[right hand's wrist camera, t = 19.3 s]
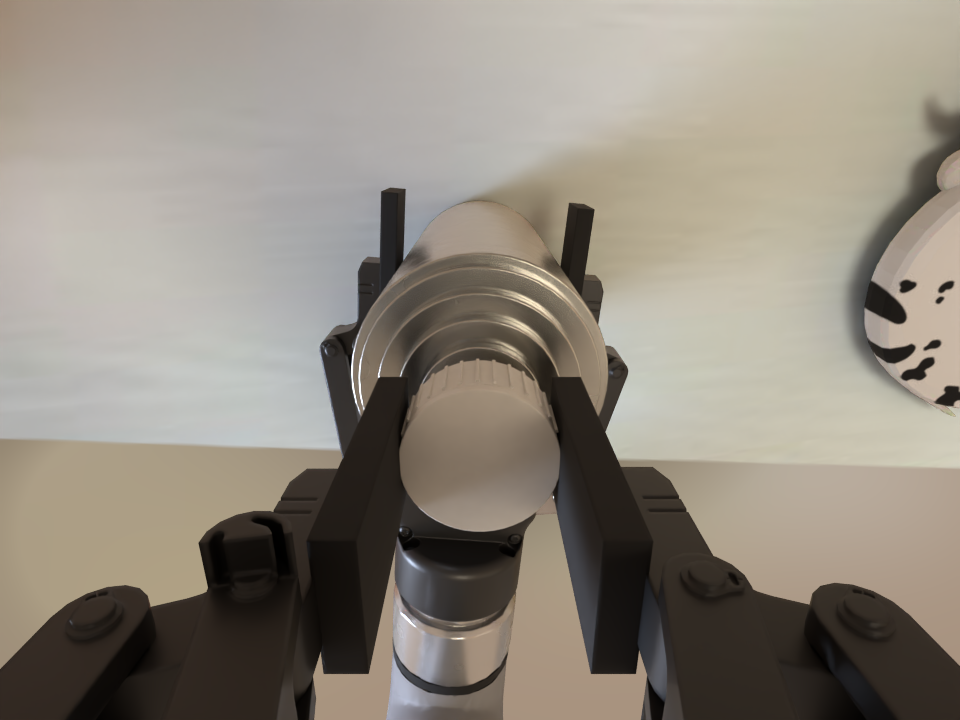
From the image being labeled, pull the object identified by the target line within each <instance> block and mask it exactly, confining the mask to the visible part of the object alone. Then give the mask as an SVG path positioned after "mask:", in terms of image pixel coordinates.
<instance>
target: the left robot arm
mask: <svg viewBox="0 0 960 720" xmlns="http://www.w3.org/2000/svg"><path fill="white" fill-rule="evenodd" d="M405 190H406V189H399V188H389V189H386V190H384V191H381V233H380V258H377V257H367V258H366V259H365V260H364V261H363V262H362V264H361V266H360V268H359V271H358V320H357V322H356V323H353V324H350V325H346V326H345V325H339V326H336V327H335V328H334V329H333V330H332V331H331V332H330V334H329V335H328V336H327V337H326V338H325V340H324V341H323V342H322V343H321V346H320V355H321V360H322V364H323V369H324V374H325V378H326V383H327V388H328V392H329V397H330V402H331V406H332V411H333V416H334V420H335V425H336V430H337V434H338V439H339V444H340V448H341V453H342V458H343V457H344V454H345V452H346V450H347V448H348V445H349V443H350V441H351V439H352V436H353V434H354V432H355V430H356V427H357V425H358V423H359V421H360V418H361V415H360V412H359V410H358V407H357V404H356V401H355V396H354V392H353V387H352V373H351V369H352V356H353V351H354V346H355V342H356V338H357V336H358V333H359V330H360V328H361V325H362V323H363V321H364V319H365V318H366V316H367V314H368V312H369V310H370V309H371V307H372V306H373V304H374V303H375V302H376V300H377V299H378V297H379V296H380V294H381V293H382V291H383V290H384V289H385V287H386V286H387V284H388V283H389V281H390V280H391V278H392V277H393V275H394V274H395V273H396V271H397V270H398V268H399V267H400V265H401V264H402V262H403V251H404V220H405ZM593 216H594V209H592V208H590V207H589V206H587V205H585V204H576V203H569V208H568V215H567V223H566V230H565V238H564V245H563V253H562V260H561V269H562V270H563V272H564V273H565V275H566V276H567V278H568V279H569V280H570V282H571V283H572V285H573V286H574V288H575V289H576V291H577V292H578V294H579V295H580V297H581V298H582V299H583V301H584V302H585V304H586V305H587V307H588V308H589V310H590V311H591V313H592V314H593V316H594V318H595V320H596V322H597V324H598V321H599V315H600V309H601V302H602V297H603V288H602V284H601V281H600V280H599V279H598V278H597V277H596V276H595V275H585V270H586V263H587V256H588V249H589V243H590V236H591V229H592V223H593ZM605 347H606V353H607V358H608V382H607V391H606V395H605V399H604V403H603V406H602V409H601V411H600V414H599V416H598V417H599V419H600V421H601V424H602V426H603V428H604V430H605V431H606V429H607V426H608V424H609V421H610V419H611V416H612V413H613V411H614V408H615V406H616V403H617V401H618V398H619V396H620V393H621V390H622V388H623V385H624V383H625V380H626V378H627V375H628V368H627V366H626V365H625V363H624V362H623V360H622V359H621V357H620V356H619V354H618V353H617V351H616V350H615V349H614V348H613V347H611V346H605ZM554 513H557V511H556V506H555V501H554V496H553V492H552V494H551V496H550V497H549V498H548V500H547V501H546V502H545V504H544V505H543V506H542V507H541V508H540V509H539V510H538V511H536V512H535V513H534V514H533V515H531V516H530V517H528V518H527V519H525V520H523V521H522V522H520V523H517V524H515V525H513V526H510V527H507V528H504V529H499V530H494V531H485V532H477V531H466V530H460V529H456V528H453V527H450V526H447V525H444V524H442V523H440V522H438V521H436V520H434V519H433V518H431V517H430V516H428V515H427V514H426V513H424V512H423V511H422V510H421V509H420V508H419V507H418V506H417V505H416V504H415V503H414V502H413V500H412V499H411V498H410V496H409V495H408V493H407V495H406V500H405V504H404V509H403V514H402V518H401V523H400V528H399V533H398V537H397V542H396V553H395V581H396V583H395V588H394V612H393V660H392V675H391V689H390V698H389V706H388V712H387V718H386V720H503V692H504V681H505V670H506V659H507V655H508V648H509V644H510V639H511V631H512V624H513V616H514V609H515V599H516V589H517V584H518V577H519V569H520V562H521V554H522V547H523V539H524V533H525V531H526V529H527V527H528V526H529V524H530V523H531V522H532V521H533V519H534V518H535V516H536V515H539V514H554Z"/></svg>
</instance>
